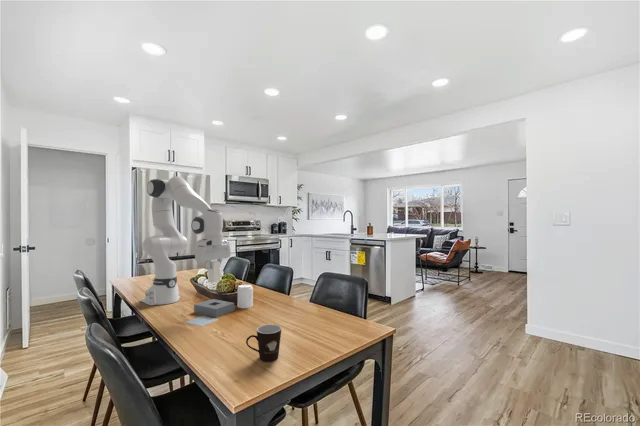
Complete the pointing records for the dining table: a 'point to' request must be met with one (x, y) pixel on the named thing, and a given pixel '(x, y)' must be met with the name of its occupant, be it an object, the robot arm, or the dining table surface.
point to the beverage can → (245, 296)
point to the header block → (214, 308)
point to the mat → (202, 321)
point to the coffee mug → (267, 342)
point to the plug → (214, 272)
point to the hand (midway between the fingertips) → (213, 268)
